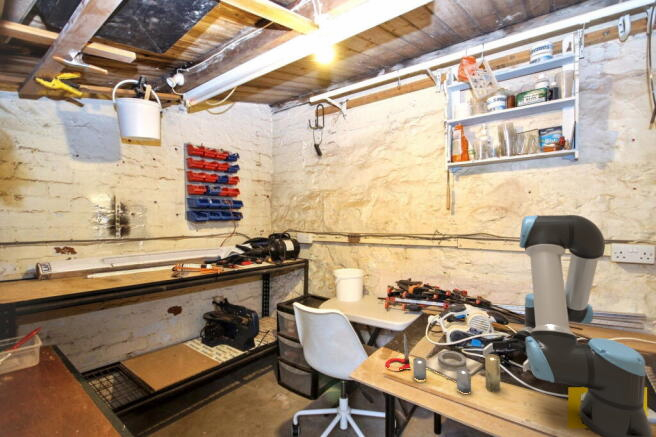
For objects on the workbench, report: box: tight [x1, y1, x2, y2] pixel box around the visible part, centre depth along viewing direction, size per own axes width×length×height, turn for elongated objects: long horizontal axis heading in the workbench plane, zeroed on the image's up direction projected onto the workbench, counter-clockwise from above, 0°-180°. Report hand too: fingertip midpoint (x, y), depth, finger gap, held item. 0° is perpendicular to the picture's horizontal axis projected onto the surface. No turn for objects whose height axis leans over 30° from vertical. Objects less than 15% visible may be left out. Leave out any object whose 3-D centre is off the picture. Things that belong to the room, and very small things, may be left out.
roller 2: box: [456, 367, 472, 393], centre depth 109 cm, size 4×4×7 cm
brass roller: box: [484, 353, 501, 393], centre depth 109 cm, size 4×4×11 cm
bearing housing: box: [426, 348, 484, 383], centre depth 123 cm, size 16×16×4 cm
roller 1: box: [412, 356, 427, 380], centre depth 116 cm, size 4×4×7 cm
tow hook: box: [384, 333, 412, 370], centre depth 125 cm, size 8×13×9 cm
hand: (503, 360), depth 114 cm, fingers open, 13 cm apart
